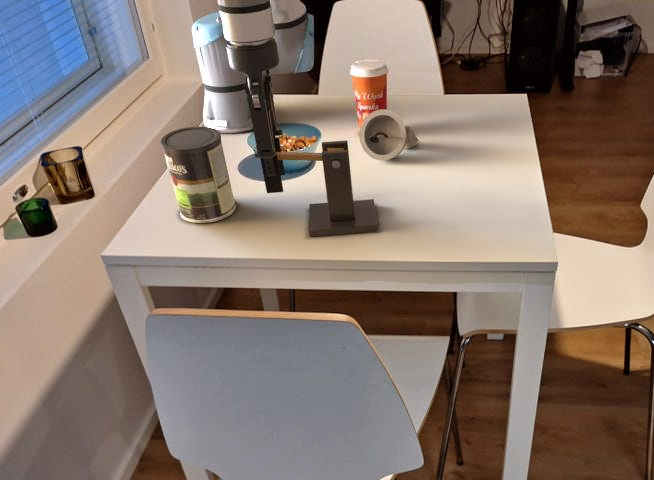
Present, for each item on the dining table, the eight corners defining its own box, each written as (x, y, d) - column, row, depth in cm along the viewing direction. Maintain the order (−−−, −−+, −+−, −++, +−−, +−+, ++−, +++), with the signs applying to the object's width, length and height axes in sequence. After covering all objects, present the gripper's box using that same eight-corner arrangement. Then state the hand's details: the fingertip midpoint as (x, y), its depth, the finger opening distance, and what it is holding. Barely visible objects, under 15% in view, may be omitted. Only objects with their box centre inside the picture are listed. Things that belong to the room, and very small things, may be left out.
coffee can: (199, 229, 120) (178, 154, 111) (170, 211, 126) (149, 138, 117) (247, 209, 126) (231, 136, 116) (218, 192, 131) (201, 121, 122)
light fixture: (418, 166, 148) (422, 118, 145) (397, 160, 132) (402, 106, 130) (371, 162, 150) (375, 115, 148) (345, 155, 134) (349, 102, 132)
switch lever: (264, 170, 111) (263, 156, 109) (266, 155, 115) (265, 141, 114) (344, 171, 112) (344, 157, 111) (343, 156, 117) (343, 143, 115)
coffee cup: (350, 138, 150) (344, 69, 140) (361, 125, 156) (356, 57, 146) (386, 141, 148) (382, 71, 139) (396, 127, 154) (393, 59, 145)
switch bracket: (309, 236, 117) (298, 161, 108) (310, 210, 125) (299, 137, 116) (377, 231, 118) (372, 156, 109) (374, 205, 125) (368, 133, 117)
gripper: (231, 24, 107) (258, 161, 122) (217, 59, 93) (249, 210, 108) (278, 21, 108) (299, 158, 123) (272, 55, 93) (296, 206, 108)
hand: (276, 182), depth 115 cm, fingers closed on switch lever, 6 cm apart
